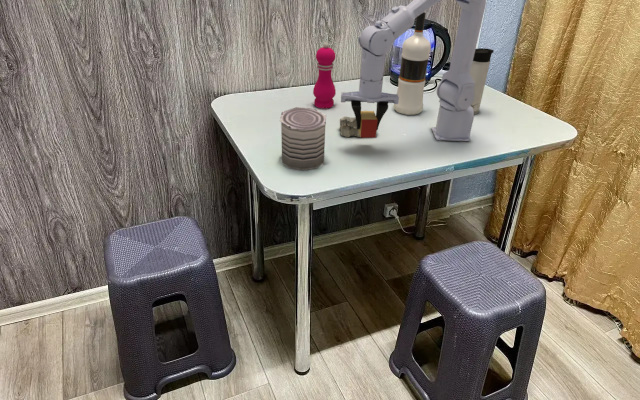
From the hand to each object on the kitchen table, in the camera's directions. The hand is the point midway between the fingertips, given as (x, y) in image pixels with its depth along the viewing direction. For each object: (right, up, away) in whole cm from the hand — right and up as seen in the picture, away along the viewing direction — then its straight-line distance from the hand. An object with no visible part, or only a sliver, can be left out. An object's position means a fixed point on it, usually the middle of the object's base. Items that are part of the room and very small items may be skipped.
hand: (366, 128), depth 124 cm
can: (-17, -9, -3) cm, 19 cm away
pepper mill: (-11, +12, +29) cm, 33 cm away
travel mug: (+36, +10, +28) cm, 47 cm away
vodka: (+16, +10, +27) cm, 33 cm away
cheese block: (0, -1, +1) cm, 2 cm away
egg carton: (-1, +1, +12) cm, 12 cm away
